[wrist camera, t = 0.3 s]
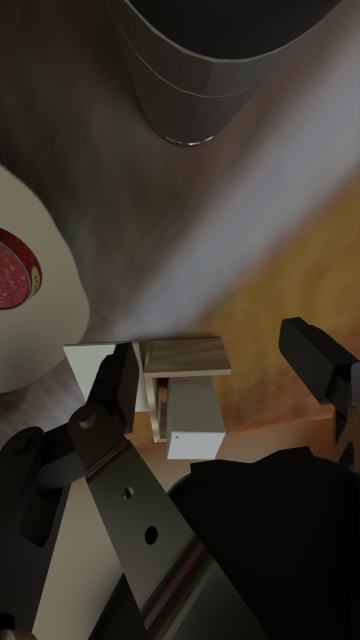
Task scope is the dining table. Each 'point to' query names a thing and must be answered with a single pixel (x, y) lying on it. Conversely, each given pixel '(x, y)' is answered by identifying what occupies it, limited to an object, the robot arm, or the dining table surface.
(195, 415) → the supplement box
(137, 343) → the mat
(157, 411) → the box
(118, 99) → the dining table surface
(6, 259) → the canned food
